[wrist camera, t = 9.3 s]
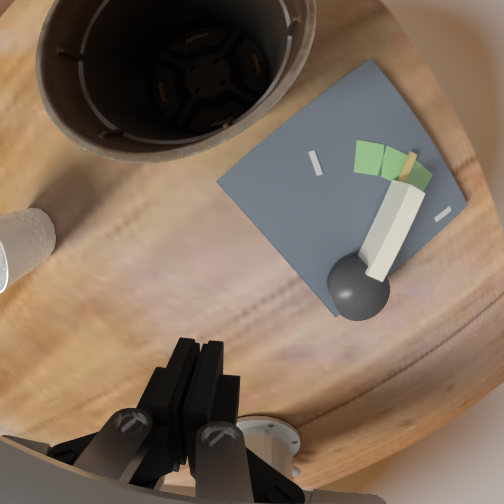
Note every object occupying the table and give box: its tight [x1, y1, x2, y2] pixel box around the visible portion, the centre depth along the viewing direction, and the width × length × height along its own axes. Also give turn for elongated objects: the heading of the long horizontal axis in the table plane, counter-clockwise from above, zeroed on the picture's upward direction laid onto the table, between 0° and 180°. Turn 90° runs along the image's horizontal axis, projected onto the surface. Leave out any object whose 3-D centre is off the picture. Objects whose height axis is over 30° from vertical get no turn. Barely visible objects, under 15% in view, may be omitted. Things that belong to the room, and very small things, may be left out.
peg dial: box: [327, 152, 425, 321], centre depth 28 cm, size 17×6×4 cm, turn 158°
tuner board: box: [216, 58, 468, 317], centre depth 30 cm, size 19×20×1 cm
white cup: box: [0, 208, 56, 293], centre depth 28 cm, size 8×8×10 cm
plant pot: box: [35, 0, 317, 163], centre depth 20 cm, size 16×16×16 cm
